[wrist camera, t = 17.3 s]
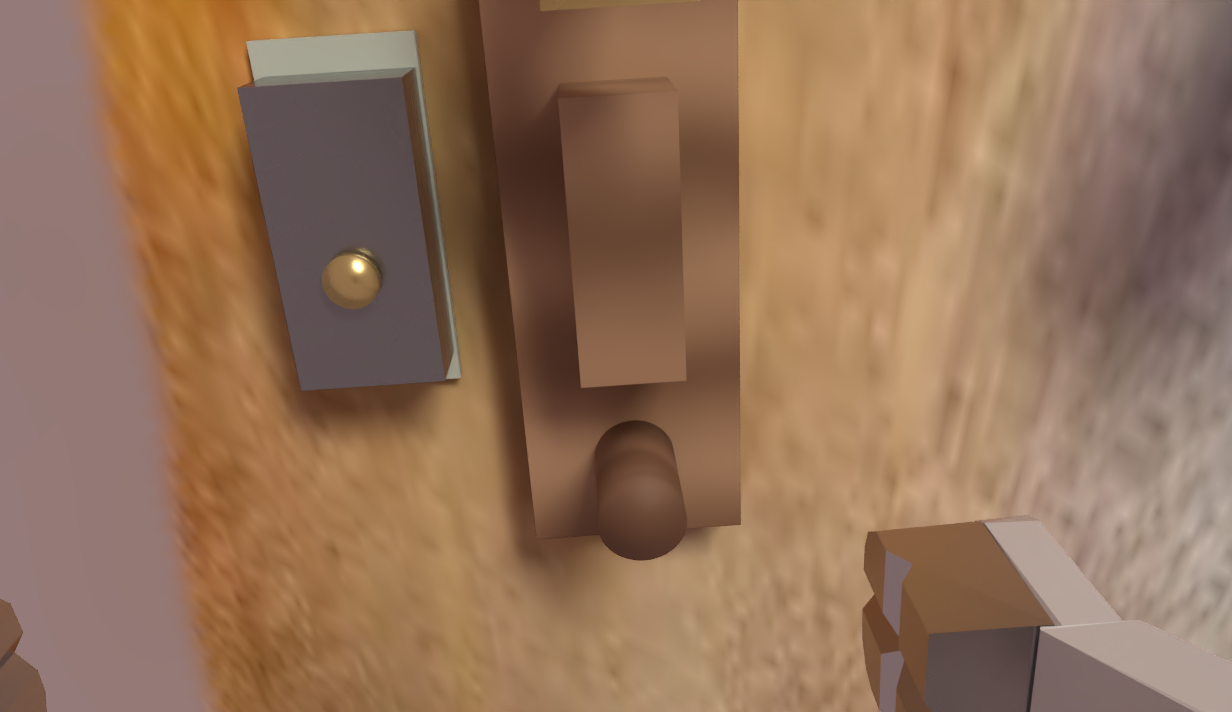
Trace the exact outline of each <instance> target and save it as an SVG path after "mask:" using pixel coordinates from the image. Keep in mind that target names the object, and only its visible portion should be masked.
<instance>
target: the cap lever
mask: <svg viewBox="0 0 1232 712" xmlns="http://www.w3.org/2000/svg"><path fill="white" fill-rule="evenodd" d="M539 1H540V11H550V10H566V9H582V8H598V7H613V6H629V5H645V4H661V3H677V2H693V1H700V0H539Z"/></svg>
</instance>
